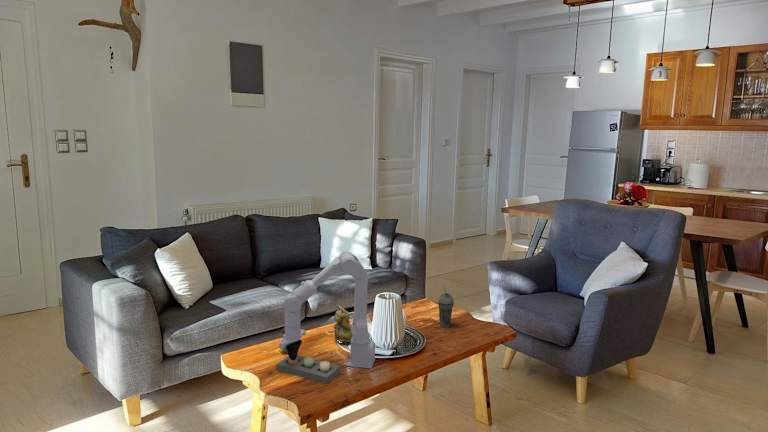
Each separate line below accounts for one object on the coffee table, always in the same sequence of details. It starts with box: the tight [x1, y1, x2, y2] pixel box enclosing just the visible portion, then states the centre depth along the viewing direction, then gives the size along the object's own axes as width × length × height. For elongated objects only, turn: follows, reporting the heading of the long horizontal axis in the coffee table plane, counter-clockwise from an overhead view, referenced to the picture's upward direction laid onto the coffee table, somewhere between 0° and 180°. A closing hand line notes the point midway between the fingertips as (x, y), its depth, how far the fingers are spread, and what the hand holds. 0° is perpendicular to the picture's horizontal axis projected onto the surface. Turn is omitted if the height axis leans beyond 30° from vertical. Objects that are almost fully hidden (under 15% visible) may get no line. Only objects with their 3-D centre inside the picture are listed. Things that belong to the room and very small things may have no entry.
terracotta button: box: [288, 357, 298, 365], centre depth 204 cm, size 4×4×3 cm
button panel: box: [276, 354, 342, 385], centre depth 201 cm, size 22×10×2 cm, turn 65°
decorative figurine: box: [333, 305, 353, 342], centre depth 228 cm, size 10×8×15 cm
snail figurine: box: [280, 327, 288, 353], centre depth 216 cm, size 5×6×12 cm
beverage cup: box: [437, 283, 455, 329], centre depth 245 cm, size 7×7×20 cm
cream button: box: [320, 360, 330, 373], centre depth 198 cm, size 4×4×3 cm
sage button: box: [304, 356, 314, 369], centre depth 201 cm, size 4×4×3 cm
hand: (292, 359), depth 203 cm, fingers closed, pressing on terracotta button
